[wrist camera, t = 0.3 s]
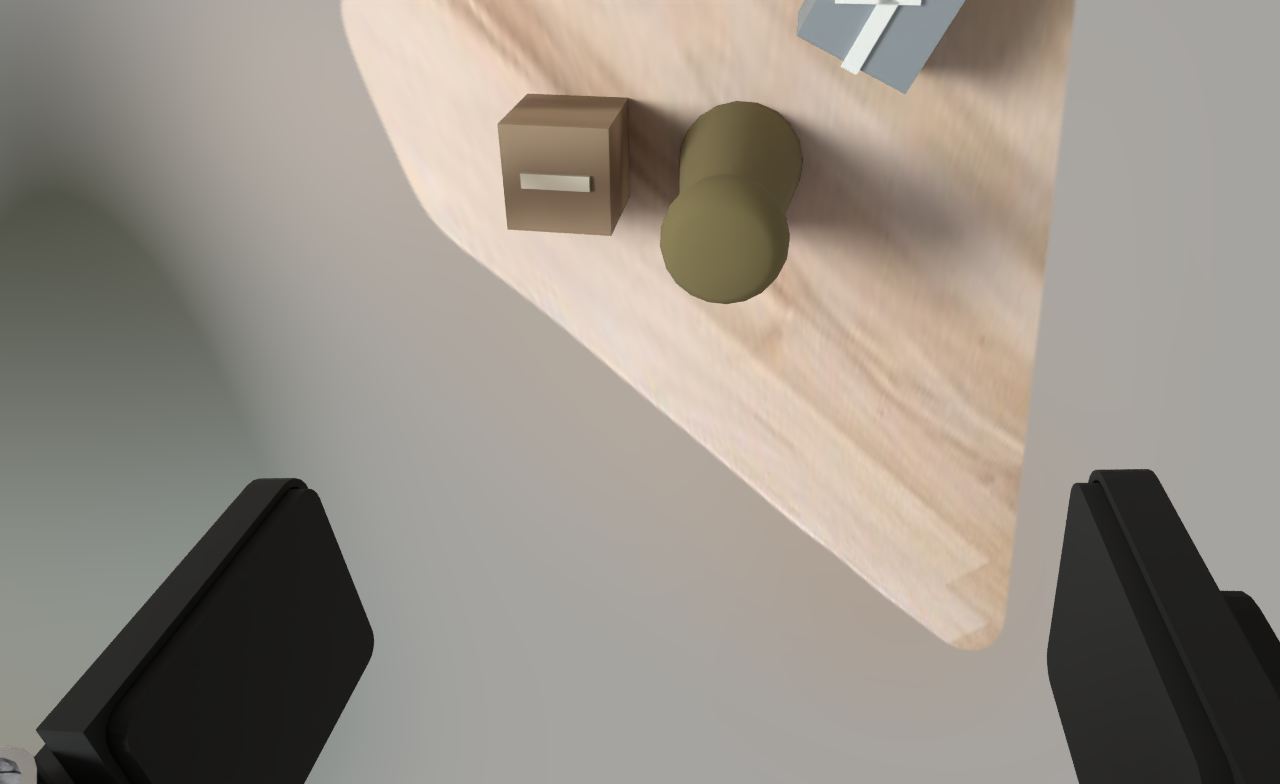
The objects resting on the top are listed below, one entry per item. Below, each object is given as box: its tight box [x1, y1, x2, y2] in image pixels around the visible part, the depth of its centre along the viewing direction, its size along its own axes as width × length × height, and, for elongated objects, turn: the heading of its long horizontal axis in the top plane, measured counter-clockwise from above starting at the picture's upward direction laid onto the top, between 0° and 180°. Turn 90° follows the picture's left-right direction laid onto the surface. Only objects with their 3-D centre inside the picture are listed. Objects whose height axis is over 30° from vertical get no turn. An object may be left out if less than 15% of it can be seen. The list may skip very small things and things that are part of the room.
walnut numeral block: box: [498, 94, 629, 236], centre depth 42 cm, size 5×5×5 cm
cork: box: [660, 101, 803, 304], centre depth 39 cm, size 6×6×11 cm
